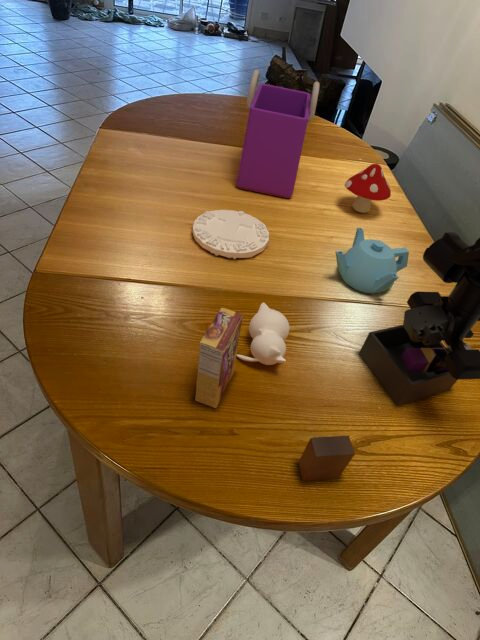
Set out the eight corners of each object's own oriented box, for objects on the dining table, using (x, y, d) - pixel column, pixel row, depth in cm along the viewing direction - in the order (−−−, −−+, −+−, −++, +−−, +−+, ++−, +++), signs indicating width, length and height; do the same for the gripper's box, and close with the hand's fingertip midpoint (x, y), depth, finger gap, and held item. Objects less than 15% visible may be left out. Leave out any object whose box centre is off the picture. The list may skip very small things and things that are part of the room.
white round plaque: (281, 238, 113) (283, 228, 111) (240, 270, 100) (242, 261, 98) (221, 209, 119) (222, 199, 117) (176, 236, 107) (176, 226, 105)
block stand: (333, 460, 68) (348, 435, 62) (338, 478, 66) (355, 454, 60) (297, 463, 67) (310, 437, 61) (302, 481, 65) (316, 456, 59)
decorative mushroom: (339, 218, 125) (356, 170, 115) (334, 196, 135) (349, 150, 125) (385, 225, 126) (405, 178, 116) (377, 203, 136) (395, 158, 126)
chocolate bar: (438, 356, 81) (444, 347, 79) (447, 371, 78) (453, 362, 76) (400, 356, 79) (406, 347, 77) (408, 371, 77) (414, 363, 75)
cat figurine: (280, 341, 72) (280, 294, 81) (224, 354, 76) (230, 308, 84) (296, 370, 78) (295, 323, 86) (244, 381, 81) (248, 335, 90)
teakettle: (382, 308, 98) (400, 272, 90) (324, 280, 102) (337, 243, 95) (400, 278, 108) (419, 243, 100) (347, 253, 112) (361, 218, 105)
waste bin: (449, 389, 83) (466, 369, 78) (397, 406, 78) (411, 385, 73) (408, 341, 91) (421, 320, 86) (358, 353, 86) (369, 332, 82)
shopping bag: (306, 201, 130) (335, 97, 109) (236, 194, 127) (252, 86, 106) (293, 162, 150) (315, 67, 129) (233, 155, 147) (245, 57, 126)
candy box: (212, 364, 79) (221, 305, 68) (233, 372, 78) (246, 314, 67) (192, 400, 72) (198, 341, 62) (215, 410, 72) (225, 351, 61)
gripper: (399, 264, 73) (367, 327, 84) (451, 345, 60) (406, 406, 71) (455, 266, 75) (417, 327, 86) (518, 344, 62) (464, 404, 73)
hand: (424, 363), depth 79 cm, fingers closed on chocolate bar, 4 cm apart
